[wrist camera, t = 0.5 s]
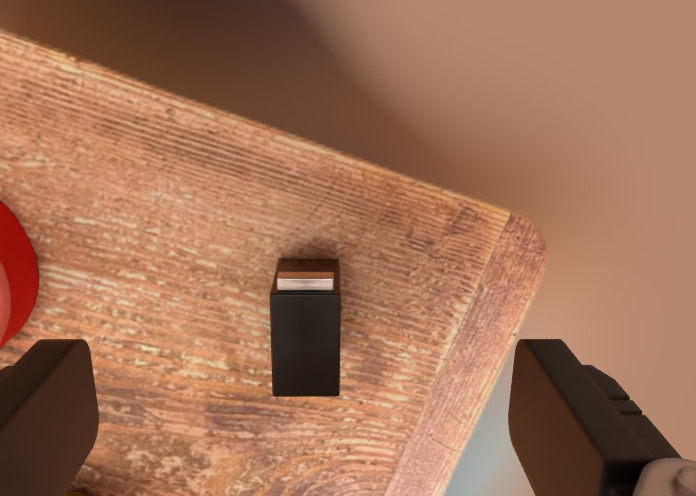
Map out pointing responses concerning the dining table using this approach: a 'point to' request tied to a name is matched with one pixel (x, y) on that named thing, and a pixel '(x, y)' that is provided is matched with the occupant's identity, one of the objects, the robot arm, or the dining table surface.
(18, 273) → the decorative ornament
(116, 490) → the dining table surface
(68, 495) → the light bulb
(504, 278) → the dining table surface
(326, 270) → the black usb flash drive
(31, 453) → the robot arm
